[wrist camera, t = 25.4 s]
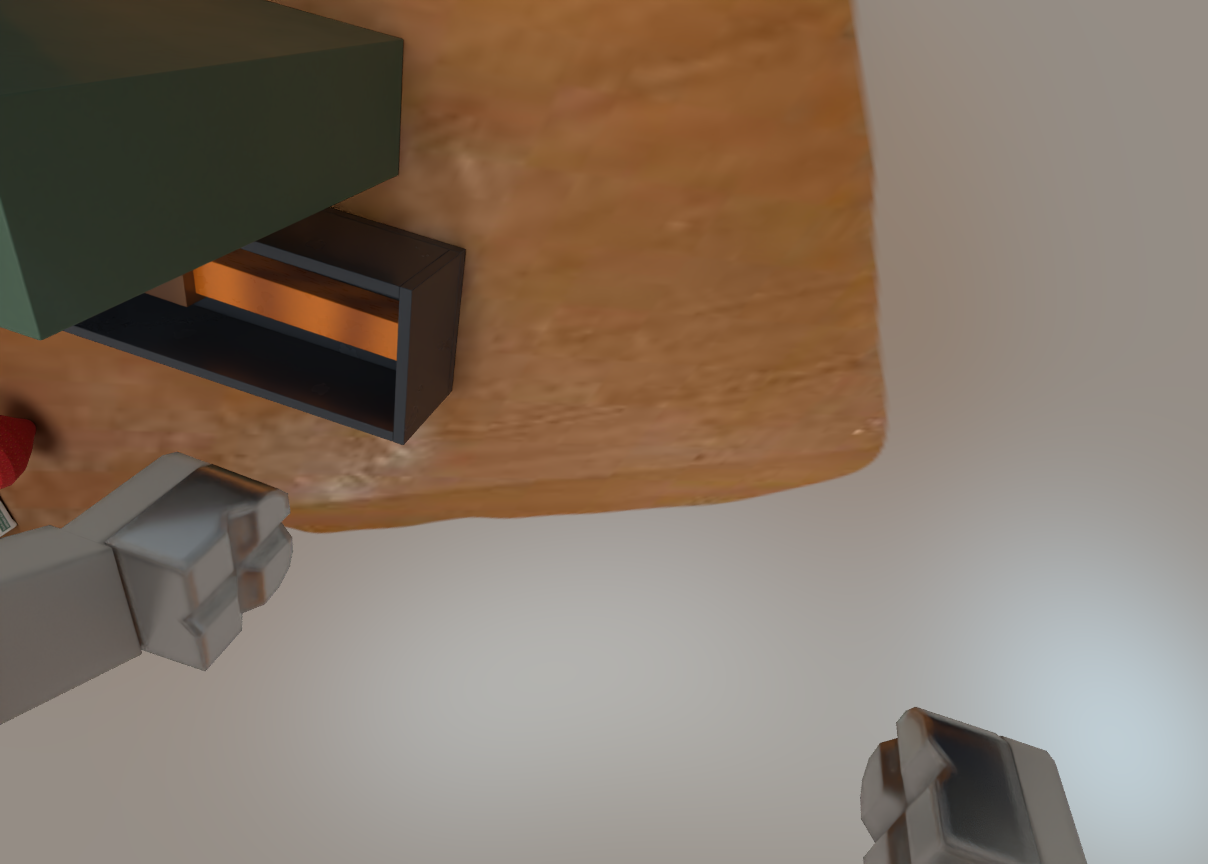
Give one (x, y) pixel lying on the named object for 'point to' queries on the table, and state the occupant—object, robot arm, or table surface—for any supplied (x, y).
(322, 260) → the drawer
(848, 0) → the table surface
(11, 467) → the strawberry
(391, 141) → the pedestal
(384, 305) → the orange bar brown end
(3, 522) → the syrup box
